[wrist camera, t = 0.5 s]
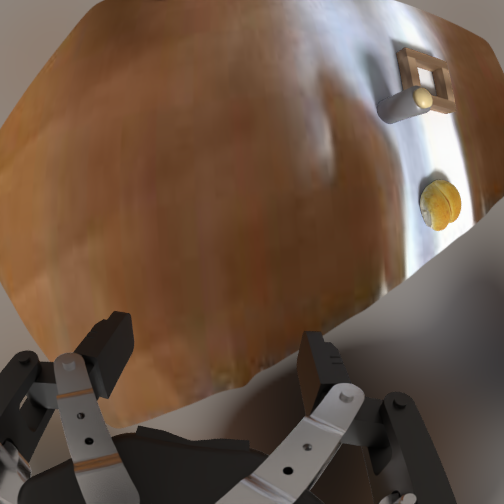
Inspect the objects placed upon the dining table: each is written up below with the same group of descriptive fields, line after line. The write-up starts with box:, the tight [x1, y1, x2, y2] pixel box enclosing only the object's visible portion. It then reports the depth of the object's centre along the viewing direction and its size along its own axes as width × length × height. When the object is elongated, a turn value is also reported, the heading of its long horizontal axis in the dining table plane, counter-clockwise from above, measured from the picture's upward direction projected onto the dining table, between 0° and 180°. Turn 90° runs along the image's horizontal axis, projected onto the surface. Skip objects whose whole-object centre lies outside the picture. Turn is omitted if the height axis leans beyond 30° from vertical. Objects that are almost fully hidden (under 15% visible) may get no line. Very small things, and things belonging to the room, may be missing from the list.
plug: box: [377, 85, 433, 124], centre depth 34 cm, size 4×4×10 cm
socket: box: [396, 47, 456, 114], centre depth 37 cm, size 10×10×3 cm
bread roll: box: [420, 180, 461, 231], centre depth 41 cm, size 8×9×4 cm
